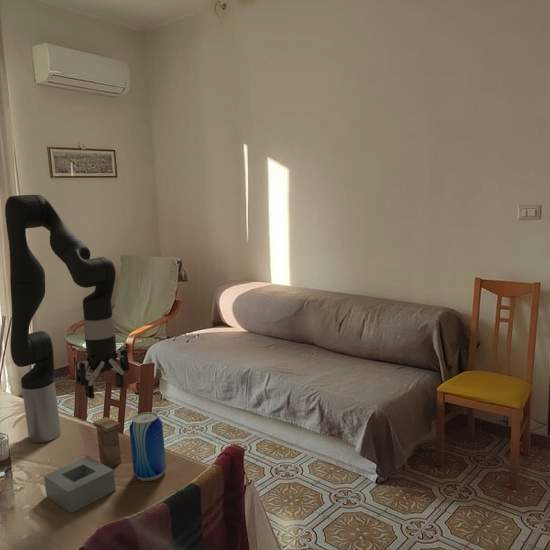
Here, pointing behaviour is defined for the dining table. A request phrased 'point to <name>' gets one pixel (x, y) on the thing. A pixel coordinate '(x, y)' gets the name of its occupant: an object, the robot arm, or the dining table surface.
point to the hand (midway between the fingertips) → (105, 392)
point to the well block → (79, 483)
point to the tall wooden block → (108, 441)
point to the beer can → (147, 446)
